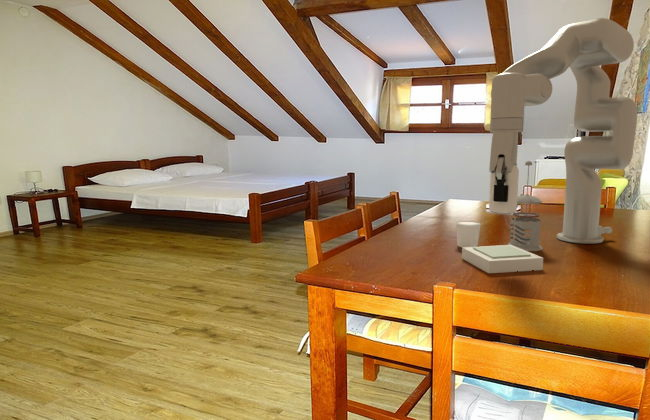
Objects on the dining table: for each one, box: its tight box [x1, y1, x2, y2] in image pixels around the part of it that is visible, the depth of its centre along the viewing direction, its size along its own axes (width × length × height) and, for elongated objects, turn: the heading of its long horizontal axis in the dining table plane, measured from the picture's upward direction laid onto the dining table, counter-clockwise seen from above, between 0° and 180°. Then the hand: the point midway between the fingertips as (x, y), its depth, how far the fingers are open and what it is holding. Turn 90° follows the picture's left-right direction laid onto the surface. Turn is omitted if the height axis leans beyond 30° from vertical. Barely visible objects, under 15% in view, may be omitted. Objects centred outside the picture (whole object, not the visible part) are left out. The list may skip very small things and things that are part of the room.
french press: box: [504, 160, 543, 252], centre depth 131 cm, size 10×12×25 cm
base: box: [461, 244, 544, 274], centre depth 115 cm, size 14×14×3 cm
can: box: [488, 163, 520, 215], centre depth 112 cm, size 6×6×12 cm
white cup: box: [455, 220, 481, 248], centre depth 134 cm, size 7×7×7 cm
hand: (503, 199), depth 112 cm, fingers closed on can, 6 cm apart
